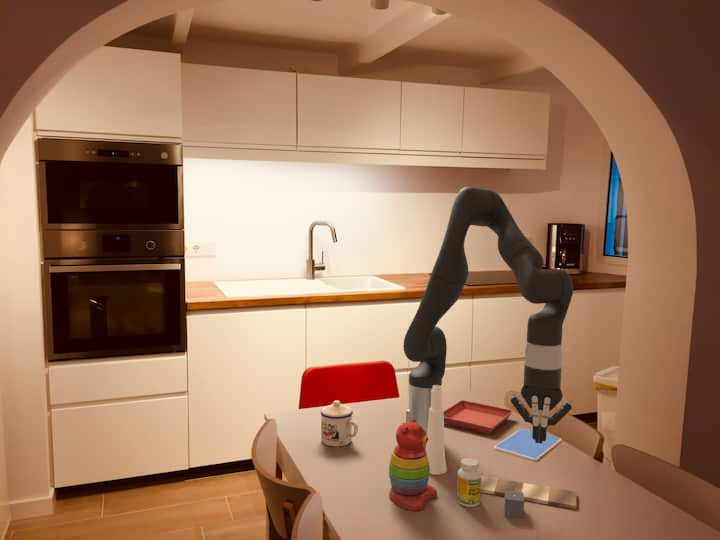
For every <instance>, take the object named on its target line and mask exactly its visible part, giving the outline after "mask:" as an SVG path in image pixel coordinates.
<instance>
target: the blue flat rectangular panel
mask: <svg viewBox="0 0 720 540" xmlns="http://www.w3.org/2000/svg"><path fill="white" fill-rule="evenodd" d="M532 432H533V429H528V428H524V427H522V428H520V429H519V430H517V431H516V432H514V433H513V434H511V435H509V436H508V437H506V438H505V439H503V440H502V441H500V442H499V443H497V444H496V445H494V450H496V451H498V452H502V453H505V454H508V455H511V456H515V457H519V458H522V459H526V460H530V461H534V462H537V461H539V460H540V459H541V458H542V457H543V456H544V455H546V454H547V453H548V452H550V451H551V450H552V449H553V448H554V447H555V446H557V445H559V444H560V443H561V442H562V438H561V437H558V436H554V435H551V434H547V433H546V440H545V441H543V442H542V444H541V443H535V440H533V438H532ZM539 433H540V432H539Z"/></svg>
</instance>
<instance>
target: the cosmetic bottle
mask: <svg viewBox="0 0 720 540" xmlns="http://www.w3.org/2000/svg"><path fill="white" fill-rule="evenodd" d="M444 411H445V409H444V408H443V389H441V386H440V385H433V389H432V390H431V407H430V408H429V417H428V431H427V435H428V441H427V444H426V448H425V449H426V453H427V457H428V462H429V467H430V474H429V475H432V476H433V475H434V476H438V475H444V474H446V472H447V469H448V468H447V463H446V455H445V454H446V451H445V423H444Z"/></svg>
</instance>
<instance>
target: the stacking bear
mask: <svg viewBox="0 0 720 540" xmlns="http://www.w3.org/2000/svg"><path fill="white" fill-rule="evenodd" d="M395 431H396V432H395V438H396V439H395V440H396V443H397V445H396V446H395V447H394V449H393V450H392V452H391V456H390V460H389V466H388V476H389V480H390V486H391V487H390V490H389V492H388V496H389V498H390V500H391V501H392V502H393V503H395V504H396V505H397V506H399V507H401V508H402V509H403V508H404V509H406V510H409V511H413V512H419V511H422V510H424V509H425V508H426V507H425V504H426V502H427V501H428V500H429V501H430V500H432V499H435V498H436V497H437V496H438V492H437V490H436V488H435V487H434V486H432V485H430V484H428V482H429V480H430V475H431V474H430V467H429V462H428V457H427V453H426V448H424V446H425V445H426V444H427V441H428V435H427V433H426V432H425V431H424V429H423V428H422V427H421V425H419V424H418V423H415V420H414V419H412V420H411V421H410V422H406V421H405V422H403V423H401V424H400V425H399V426H398V427H397V429H396V430H395Z"/></svg>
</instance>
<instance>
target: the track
mask: <svg viewBox="0 0 720 540" xmlns="http://www.w3.org/2000/svg"><path fill="white" fill-rule="evenodd" d="M505 490H506V491H514V492H522V493H523V494H524V501H527V502H533V503H538V504H544V505H550V506H556V507H560V508H566V509H571V510H577V491H573V490H569V489H561V488H555V487H549V486H545V485H539V484H532V483H527V482H520V481H514V480H511V479H510V480H509V479H503V478H497V477H492V476H486V475H481V494H482V493H484V494H489V495H494V496H498V497H504V498H505Z"/></svg>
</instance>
